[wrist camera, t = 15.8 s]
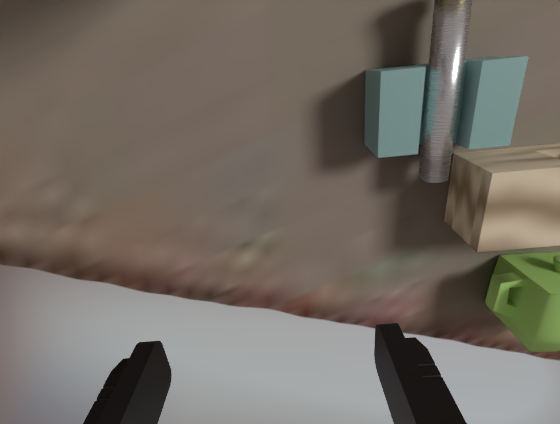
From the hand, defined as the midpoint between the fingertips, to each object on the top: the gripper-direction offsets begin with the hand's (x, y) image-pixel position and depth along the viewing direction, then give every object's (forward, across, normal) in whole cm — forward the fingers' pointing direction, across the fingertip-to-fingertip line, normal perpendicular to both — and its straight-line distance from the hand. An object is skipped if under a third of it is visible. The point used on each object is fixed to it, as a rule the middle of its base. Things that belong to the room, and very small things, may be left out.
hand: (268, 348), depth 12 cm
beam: (+28, -31, +6) cm, 42 cm away
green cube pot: (+28, -35, +20) cm, 49 cm away
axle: (+26, -17, -6) cm, 32 cm away
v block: (+28, -17, -4) cm, 33 cm away
